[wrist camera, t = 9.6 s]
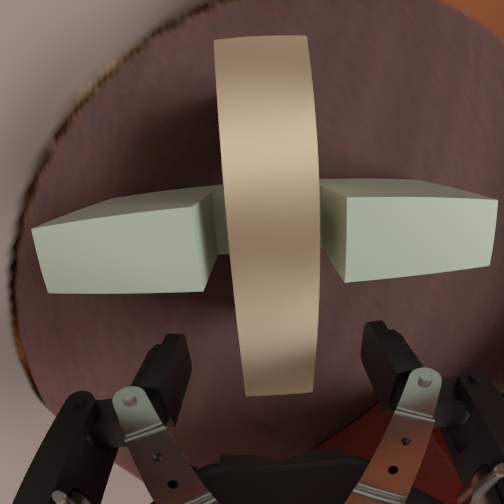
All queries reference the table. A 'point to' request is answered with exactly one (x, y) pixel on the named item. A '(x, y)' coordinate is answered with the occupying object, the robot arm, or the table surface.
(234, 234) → the slotted plate
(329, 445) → the plant pot
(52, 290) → the notched board
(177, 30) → the table surface
